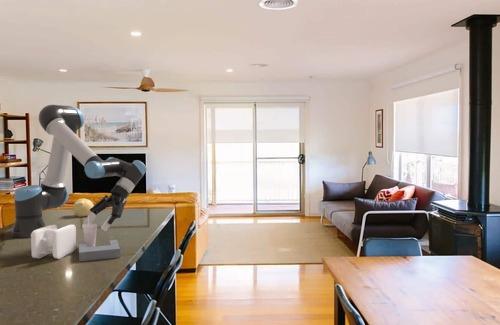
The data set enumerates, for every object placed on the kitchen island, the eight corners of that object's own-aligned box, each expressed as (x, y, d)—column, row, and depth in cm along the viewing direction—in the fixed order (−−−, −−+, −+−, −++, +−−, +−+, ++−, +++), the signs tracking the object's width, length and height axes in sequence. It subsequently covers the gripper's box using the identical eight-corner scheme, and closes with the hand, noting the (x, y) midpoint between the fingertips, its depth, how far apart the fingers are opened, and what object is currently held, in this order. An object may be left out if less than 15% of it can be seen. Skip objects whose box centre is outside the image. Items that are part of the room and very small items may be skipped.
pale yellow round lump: (72, 215, 255) (72, 197, 255) (93, 213, 260) (92, 196, 260) (73, 218, 245) (72, 200, 244) (94, 216, 250) (94, 198, 249)
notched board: (79, 251, 174) (78, 242, 174) (116, 247, 180) (116, 239, 180) (79, 261, 159) (78, 252, 159) (120, 257, 165) (120, 248, 165)
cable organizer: (55, 261, 159) (54, 231, 159) (30, 260, 161) (29, 230, 160) (76, 251, 174) (76, 223, 173) (53, 250, 175) (52, 223, 175)
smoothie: (85, 245, 183) (84, 213, 183) (100, 245, 184) (99, 213, 183) (80, 249, 177) (79, 216, 176) (95, 248, 178) (95, 216, 177)
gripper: (144, 196, 186) (116, 236, 175) (111, 192, 201) (83, 228, 190) (134, 186, 182) (105, 226, 171) (101, 182, 197) (72, 219, 186)
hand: (93, 227), depth 180 cm, fingers open, 13 cm apart
